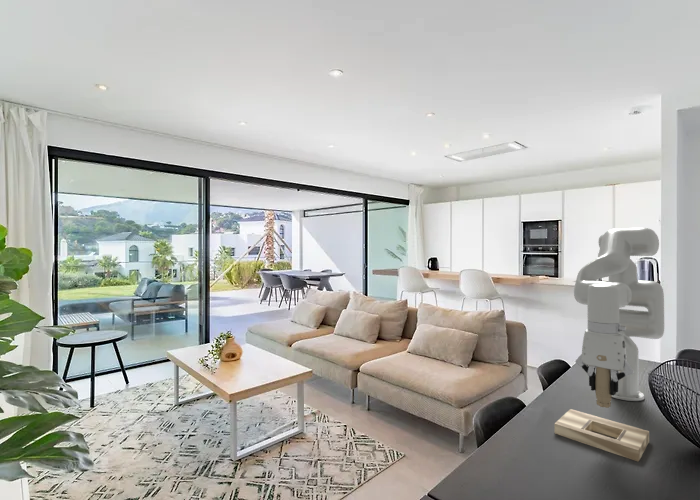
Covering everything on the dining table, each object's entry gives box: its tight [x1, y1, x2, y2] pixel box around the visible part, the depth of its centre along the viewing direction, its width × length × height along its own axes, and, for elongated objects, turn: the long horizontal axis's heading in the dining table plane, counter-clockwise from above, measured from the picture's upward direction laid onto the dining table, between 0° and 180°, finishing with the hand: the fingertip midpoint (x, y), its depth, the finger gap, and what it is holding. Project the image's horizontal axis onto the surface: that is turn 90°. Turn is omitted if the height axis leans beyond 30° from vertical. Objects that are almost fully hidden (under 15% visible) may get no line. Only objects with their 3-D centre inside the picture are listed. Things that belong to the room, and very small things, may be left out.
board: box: [554, 408, 650, 462], centre depth 108 cm, size 14×20×3 cm
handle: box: [594, 355, 613, 409], centre depth 106 cm, size 5×6×15 cm
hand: (603, 390), depth 106 cm, fingers closed on handle, 4 cm apart
